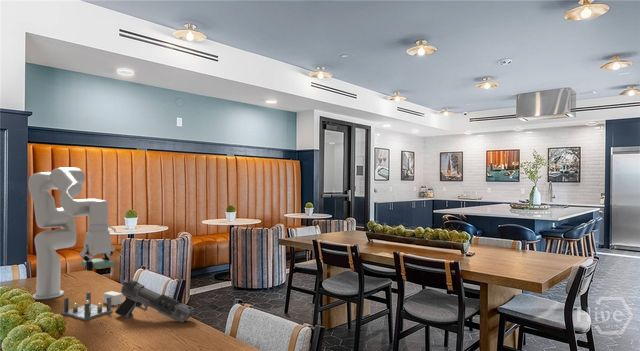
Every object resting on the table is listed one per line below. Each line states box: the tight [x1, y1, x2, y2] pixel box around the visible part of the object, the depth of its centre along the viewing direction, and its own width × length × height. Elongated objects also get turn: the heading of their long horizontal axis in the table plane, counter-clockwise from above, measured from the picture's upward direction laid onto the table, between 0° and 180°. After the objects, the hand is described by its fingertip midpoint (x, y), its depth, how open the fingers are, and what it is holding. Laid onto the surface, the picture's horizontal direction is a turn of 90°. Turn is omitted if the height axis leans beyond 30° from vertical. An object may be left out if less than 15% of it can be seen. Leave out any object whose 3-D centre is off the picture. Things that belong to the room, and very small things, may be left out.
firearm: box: [114, 279, 195, 323], centre depth 163 cm, size 4×33×15 cm, turn 79°
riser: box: [102, 290, 123, 307], centre depth 182 cm, size 8×4×4 cm, turn 61°
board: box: [81, 258, 115, 270], centre depth 174 cm, size 12×7×2 cm, turn 64°
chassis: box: [61, 291, 114, 321], centre depth 169 cm, size 16×12×6 cm
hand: (97, 268), depth 174 cm, fingers closed on board, 7 cm apart
